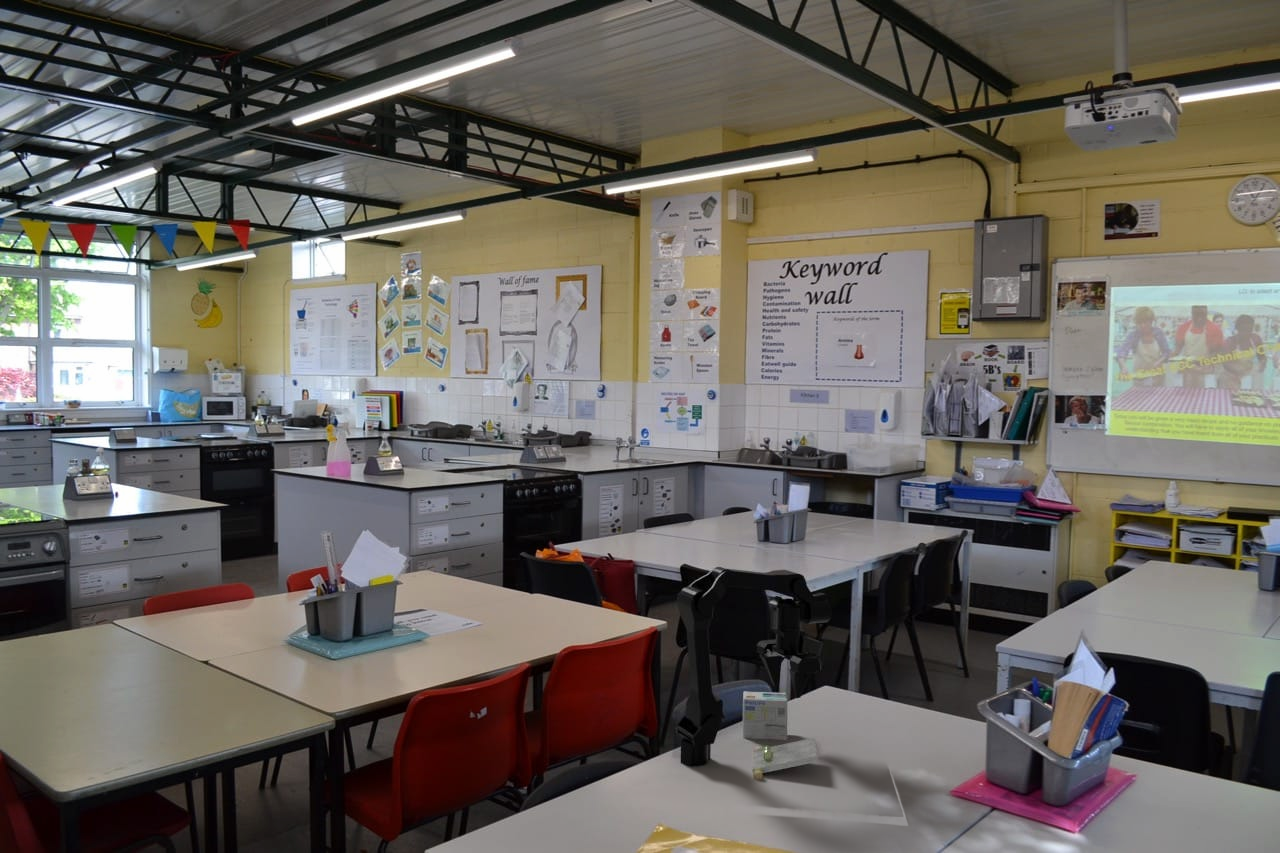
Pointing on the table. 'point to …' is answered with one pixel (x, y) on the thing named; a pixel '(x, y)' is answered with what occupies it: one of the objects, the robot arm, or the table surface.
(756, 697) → the light bulb box
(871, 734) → the table surface
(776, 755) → the level plate
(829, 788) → the table surface
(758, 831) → the table surface
